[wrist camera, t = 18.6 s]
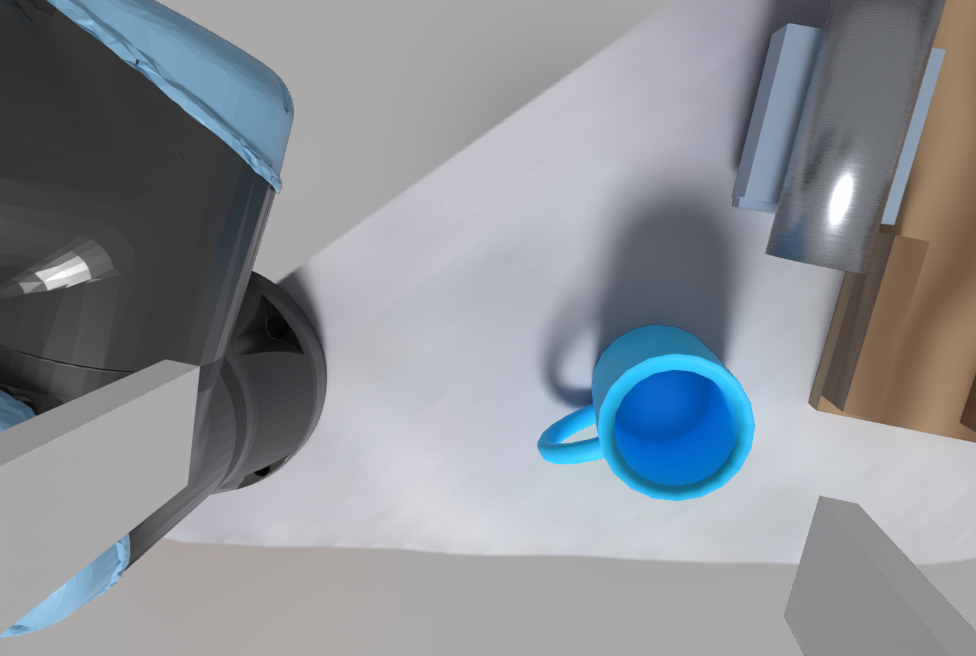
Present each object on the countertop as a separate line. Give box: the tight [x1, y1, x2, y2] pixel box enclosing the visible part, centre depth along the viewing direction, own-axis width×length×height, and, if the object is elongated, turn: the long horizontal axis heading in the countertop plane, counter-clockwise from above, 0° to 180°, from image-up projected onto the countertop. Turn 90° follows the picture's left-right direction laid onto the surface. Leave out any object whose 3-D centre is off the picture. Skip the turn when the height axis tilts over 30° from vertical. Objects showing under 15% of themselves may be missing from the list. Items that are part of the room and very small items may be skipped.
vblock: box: [732, 23, 946, 225], centre depth 41 cm, size 8×10×4 cm
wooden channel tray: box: [809, 0, 976, 443], centre depth 41 cm, size 10×24×5 cm, turn 170°
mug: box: [537, 325, 755, 501], centre depth 43 cm, size 12×8×8 cm
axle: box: [765, 0, 946, 274], centre depth 37 cm, size 14×5×5 cm, turn 170°
